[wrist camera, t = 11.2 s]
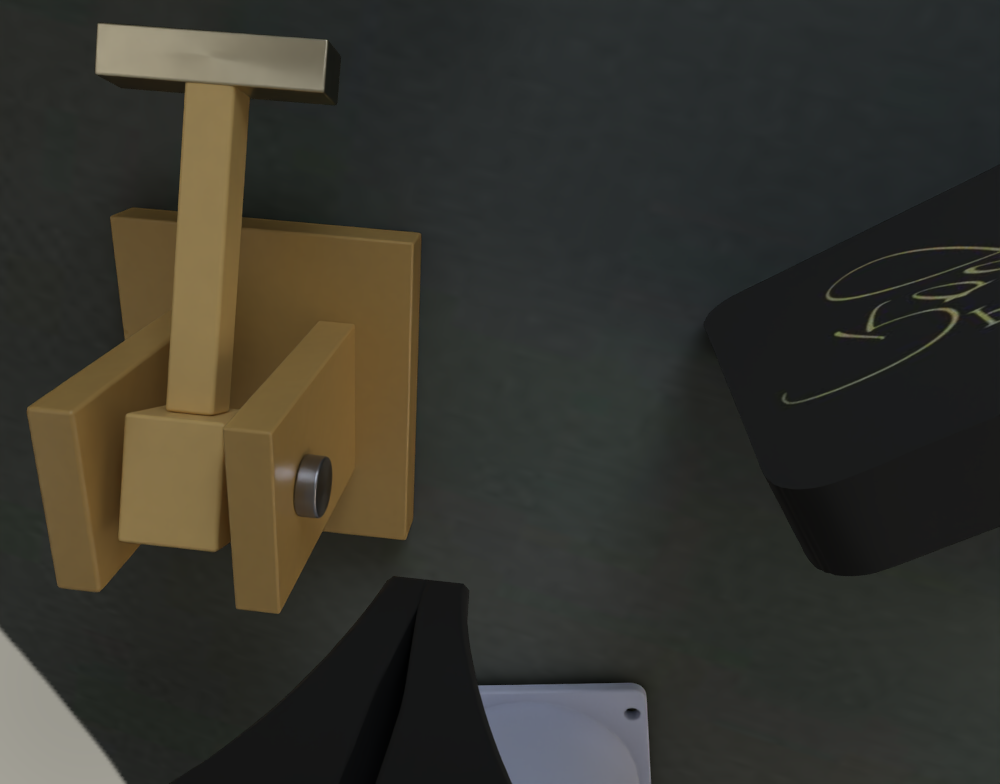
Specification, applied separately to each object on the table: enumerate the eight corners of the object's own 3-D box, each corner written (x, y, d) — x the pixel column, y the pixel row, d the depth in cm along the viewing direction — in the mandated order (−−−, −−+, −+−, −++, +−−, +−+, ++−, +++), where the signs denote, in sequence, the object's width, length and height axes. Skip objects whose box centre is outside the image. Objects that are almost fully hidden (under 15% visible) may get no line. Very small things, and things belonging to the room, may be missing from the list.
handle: (136, 47, 20) (78, 9, 17) (349, 64, 19) (319, 27, 17) (111, 510, 20) (53, 535, 18) (313, 533, 20) (280, 561, 18)
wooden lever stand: (131, 206, 23) (-74, 287, 16) (421, 232, 22) (346, 328, 15) (162, 492, 27) (7, 664, 19) (413, 519, 26) (349, 705, 19)
